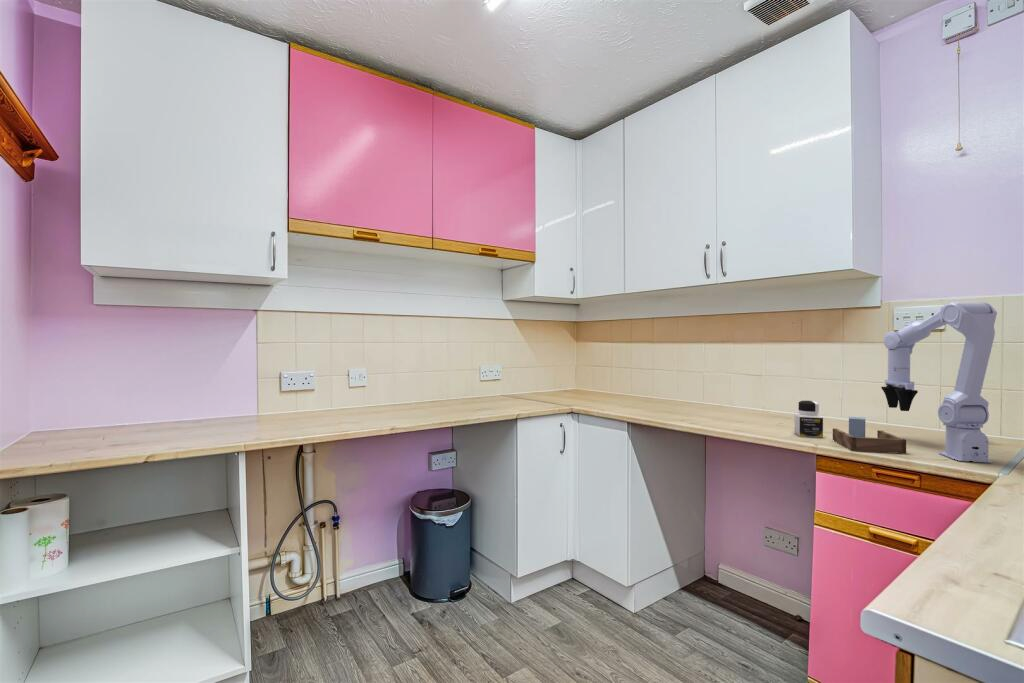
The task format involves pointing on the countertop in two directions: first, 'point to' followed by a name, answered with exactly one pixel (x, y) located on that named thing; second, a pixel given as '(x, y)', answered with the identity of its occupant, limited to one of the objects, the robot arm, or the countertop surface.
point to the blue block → (857, 426)
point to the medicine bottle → (808, 420)
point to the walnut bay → (871, 442)
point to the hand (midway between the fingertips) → (898, 409)
